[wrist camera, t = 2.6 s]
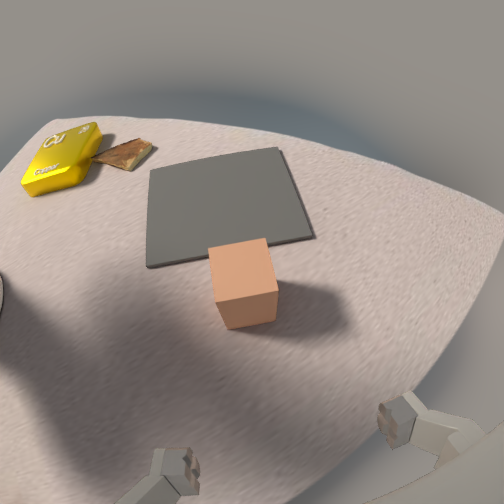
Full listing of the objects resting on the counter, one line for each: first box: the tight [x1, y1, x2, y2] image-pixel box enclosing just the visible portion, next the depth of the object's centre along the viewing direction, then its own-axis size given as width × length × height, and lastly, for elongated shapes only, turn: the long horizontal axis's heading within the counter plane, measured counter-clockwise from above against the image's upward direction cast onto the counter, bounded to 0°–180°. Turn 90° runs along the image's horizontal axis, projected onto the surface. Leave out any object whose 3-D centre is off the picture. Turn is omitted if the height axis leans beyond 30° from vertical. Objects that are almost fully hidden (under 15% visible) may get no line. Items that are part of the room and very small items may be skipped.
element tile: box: [21, 122, 103, 197], centre depth 44 cm, size 15×15×5 cm
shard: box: [91, 138, 152, 171], centre depth 45 cm, size 11×8×2 cm
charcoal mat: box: [146, 147, 312, 268], centre depth 37 cm, size 20×17×1 cm
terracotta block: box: [208, 238, 279, 330], centre depth 27 cm, size 5×5×8 cm
